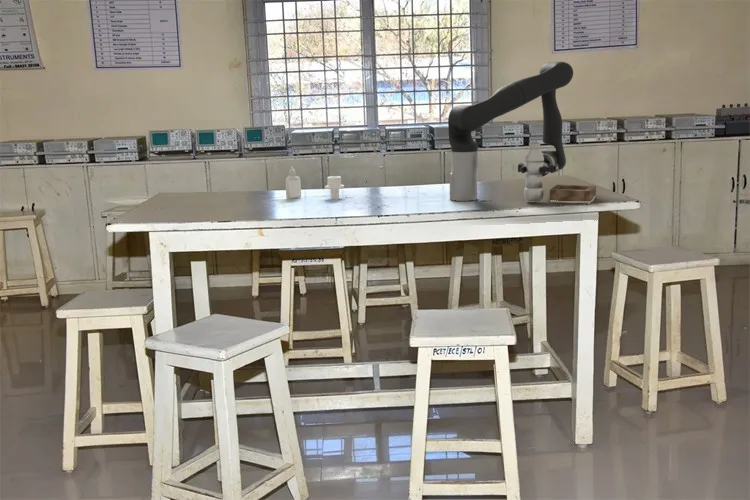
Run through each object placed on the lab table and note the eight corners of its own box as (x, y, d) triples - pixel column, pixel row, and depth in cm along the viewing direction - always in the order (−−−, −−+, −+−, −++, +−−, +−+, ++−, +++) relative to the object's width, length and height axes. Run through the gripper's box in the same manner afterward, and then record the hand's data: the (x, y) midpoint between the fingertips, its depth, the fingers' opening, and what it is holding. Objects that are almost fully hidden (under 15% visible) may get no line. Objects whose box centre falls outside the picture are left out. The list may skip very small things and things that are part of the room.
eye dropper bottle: (301, 198, 280) (299, 166, 277) (286, 199, 279) (284, 167, 277) (301, 196, 284) (299, 165, 281) (286, 197, 283) (284, 166, 281)
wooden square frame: (549, 202, 253) (549, 189, 252) (556, 197, 265) (557, 184, 264) (590, 204, 248) (590, 190, 247) (595, 198, 260) (596, 185, 259)
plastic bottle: (538, 203, 250) (540, 144, 246) (520, 202, 254) (521, 143, 250) (546, 200, 255) (548, 142, 251) (528, 199, 259) (529, 141, 255)
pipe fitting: (333, 200, 273) (332, 178, 271) (322, 198, 279) (321, 176, 277) (347, 198, 277) (346, 176, 275) (336, 196, 282) (336, 175, 281)
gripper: (522, 154, 267) (511, 158, 252) (563, 154, 261) (554, 159, 246) (522, 174, 269) (511, 180, 254) (562, 175, 263) (553, 182, 248)
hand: (532, 170), depth 250 cm, fingers closed on plastic bottle, 6 cm apart
